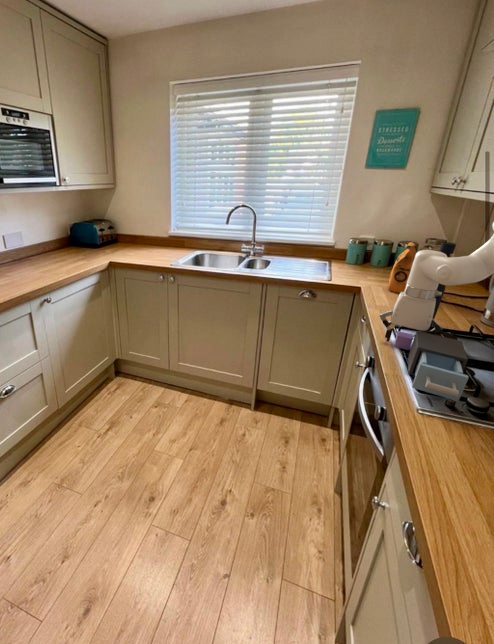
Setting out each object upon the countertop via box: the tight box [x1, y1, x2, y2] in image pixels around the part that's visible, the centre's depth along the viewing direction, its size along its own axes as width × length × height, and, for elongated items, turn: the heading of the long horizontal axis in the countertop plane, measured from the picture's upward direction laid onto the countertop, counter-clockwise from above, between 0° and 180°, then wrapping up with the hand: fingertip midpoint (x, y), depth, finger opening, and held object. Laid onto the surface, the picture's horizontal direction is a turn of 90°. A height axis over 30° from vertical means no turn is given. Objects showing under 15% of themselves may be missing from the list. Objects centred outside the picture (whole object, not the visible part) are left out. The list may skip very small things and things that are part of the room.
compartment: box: [407, 330, 469, 377], centre depth 91 cm, size 12×11×9 cm
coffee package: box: [387, 241, 418, 294], centre depth 152 cm, size 10×12×22 cm
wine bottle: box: [429, 241, 457, 328], centre depth 116 cm, size 6×6×30 cm
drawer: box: [411, 351, 469, 402], centre depth 82 cm, size 15×9×7 cm, turn 148°
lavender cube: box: [394, 330, 414, 351], centre depth 105 cm, size 4×4×4 cm
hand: (402, 343), depth 105 cm, fingers open, 7 cm apart
